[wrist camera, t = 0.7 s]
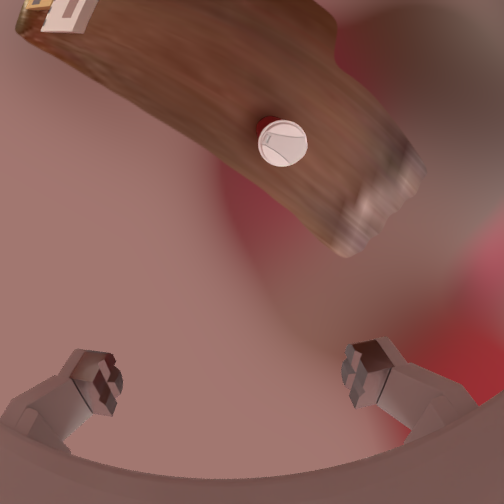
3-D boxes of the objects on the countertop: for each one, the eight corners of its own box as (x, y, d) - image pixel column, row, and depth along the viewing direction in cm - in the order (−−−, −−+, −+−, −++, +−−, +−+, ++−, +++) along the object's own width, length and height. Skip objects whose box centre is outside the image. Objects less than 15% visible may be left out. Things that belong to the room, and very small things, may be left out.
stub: (44, -4, 20) (32, -7, 16) (68, -7, 23) (57, -11, 19) (37, 10, 22) (25, 8, 18) (61, 8, 25) (49, 5, 21)
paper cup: (244, 139, 50) (251, 159, 39) (259, 105, 46) (271, 113, 35) (280, 152, 53) (297, 176, 41) (295, 120, 49) (318, 133, 37)
